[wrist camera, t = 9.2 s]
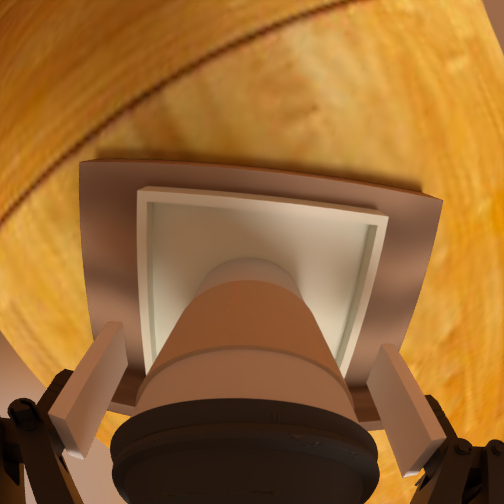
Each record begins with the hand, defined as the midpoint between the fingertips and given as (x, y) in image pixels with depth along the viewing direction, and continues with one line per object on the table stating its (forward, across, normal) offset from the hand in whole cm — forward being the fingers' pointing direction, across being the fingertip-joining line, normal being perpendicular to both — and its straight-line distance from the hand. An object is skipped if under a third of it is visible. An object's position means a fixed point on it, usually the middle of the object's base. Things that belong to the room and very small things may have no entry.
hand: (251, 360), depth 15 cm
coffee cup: (+6, 0, 0) cm, 6 cm away
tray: (+6, 0, 0) cm, 6 cm away
